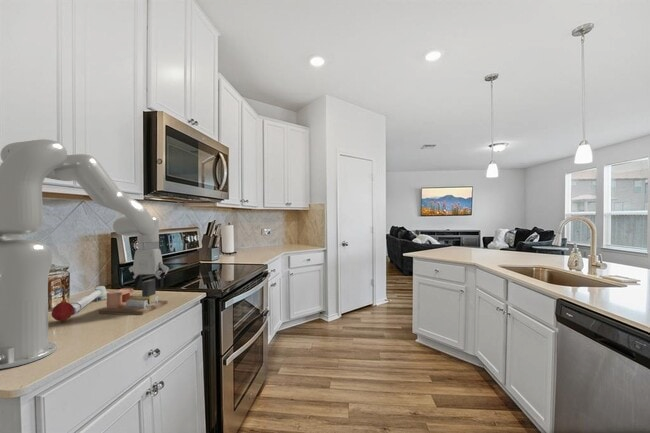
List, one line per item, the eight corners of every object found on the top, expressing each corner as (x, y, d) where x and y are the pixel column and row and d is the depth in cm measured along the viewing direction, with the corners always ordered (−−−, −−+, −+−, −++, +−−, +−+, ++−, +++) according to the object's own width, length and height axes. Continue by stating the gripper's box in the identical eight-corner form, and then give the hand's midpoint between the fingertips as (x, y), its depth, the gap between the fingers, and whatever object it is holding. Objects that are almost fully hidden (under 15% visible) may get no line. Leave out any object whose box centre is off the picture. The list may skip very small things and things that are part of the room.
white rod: (60, 306, 105) (97, 283, 129) (62, 323, 106) (98, 296, 130) (76, 305, 106) (109, 282, 130) (78, 321, 107) (111, 295, 131)
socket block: (118, 308, 110) (117, 293, 110) (106, 307, 111) (106, 293, 111) (133, 302, 118) (133, 288, 118) (123, 301, 118) (123, 288, 118)
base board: (142, 314, 106) (142, 311, 106) (98, 313, 108) (98, 310, 108) (167, 303, 119) (167, 300, 119) (128, 302, 122) (128, 299, 122)
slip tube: (148, 304, 110) (148, 281, 111) (128, 303, 111) (127, 281, 112) (156, 300, 115) (156, 279, 115) (136, 300, 116) (136, 279, 116)
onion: (54, 326, 95) (54, 303, 95) (49, 323, 98) (49, 300, 98) (76, 320, 100) (76, 298, 100) (70, 317, 103) (70, 296, 103)
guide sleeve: (144, 308, 109) (143, 301, 109) (125, 308, 110) (125, 300, 110) (158, 302, 117) (158, 295, 117) (141, 302, 117) (140, 295, 118)
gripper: (121, 247, 110) (122, 290, 110) (161, 247, 108) (162, 290, 108) (136, 245, 118) (137, 285, 118) (173, 245, 116) (174, 285, 116)
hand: (149, 287), depth 113 cm, fingers open, 9 cm apart
